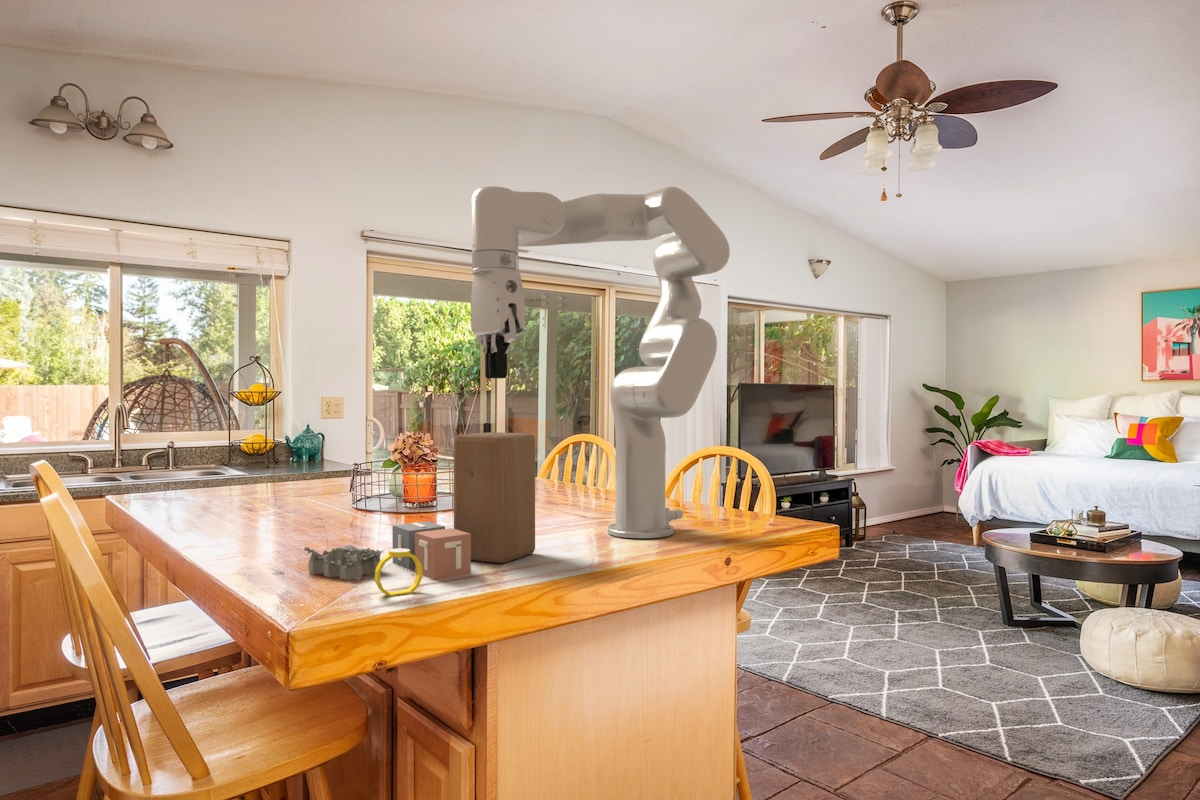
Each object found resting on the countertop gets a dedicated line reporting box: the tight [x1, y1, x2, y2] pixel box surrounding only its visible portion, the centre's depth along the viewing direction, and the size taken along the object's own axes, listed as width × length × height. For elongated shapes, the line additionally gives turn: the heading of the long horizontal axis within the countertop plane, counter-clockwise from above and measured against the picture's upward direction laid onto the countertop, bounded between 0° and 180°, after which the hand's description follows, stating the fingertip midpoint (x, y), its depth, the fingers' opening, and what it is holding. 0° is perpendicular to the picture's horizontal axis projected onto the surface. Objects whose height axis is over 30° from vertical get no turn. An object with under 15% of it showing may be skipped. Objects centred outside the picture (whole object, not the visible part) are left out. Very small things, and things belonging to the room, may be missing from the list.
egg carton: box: [303, 544, 386, 581], centre depth 112 cm, size 11×8×4 cm
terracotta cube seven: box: [414, 527, 472, 581], centre depth 111 cm, size 6×6×6 cm
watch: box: [374, 548, 423, 597], centre depth 99 cm, size 6×3×6 cm, turn 121°
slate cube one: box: [392, 521, 446, 571], centre depth 117 cm, size 6×6×6 cm
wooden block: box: [453, 431, 536, 564], centre depth 122 cm, size 10×10×20 cm
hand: (496, 377), depth 122 cm, fingers closed
